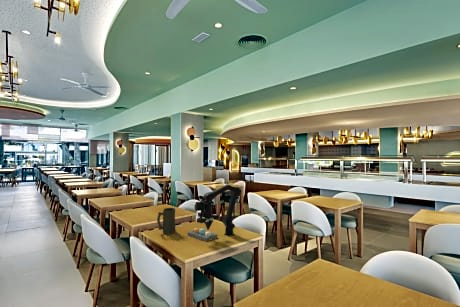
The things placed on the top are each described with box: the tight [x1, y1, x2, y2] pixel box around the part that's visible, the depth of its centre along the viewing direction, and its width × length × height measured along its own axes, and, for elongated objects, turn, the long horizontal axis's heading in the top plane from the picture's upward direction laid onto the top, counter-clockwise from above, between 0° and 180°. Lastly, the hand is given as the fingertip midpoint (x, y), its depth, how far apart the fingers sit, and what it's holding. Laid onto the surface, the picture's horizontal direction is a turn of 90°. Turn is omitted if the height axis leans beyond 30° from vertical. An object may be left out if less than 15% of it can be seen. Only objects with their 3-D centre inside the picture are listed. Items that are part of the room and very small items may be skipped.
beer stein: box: [156, 207, 177, 235], centre depth 208 cm, size 15×11×20 cm
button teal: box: [199, 228, 206, 235], centre depth 199 cm, size 5×5×4 cm
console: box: [187, 229, 218, 242], centre depth 198 cm, size 12×22×2 cm, turn 47°
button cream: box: [205, 231, 212, 237], centre depth 194 cm, size 5×5×4 cm
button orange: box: [193, 227, 201, 233], centre depth 203 cm, size 5×5×4 cm
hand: (208, 229), depth 194 cm, fingers closed
